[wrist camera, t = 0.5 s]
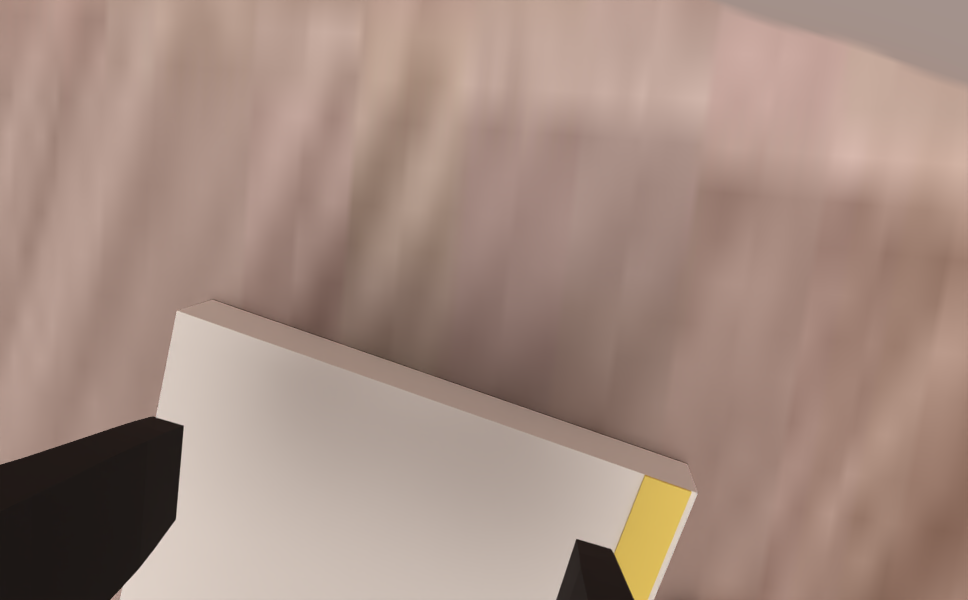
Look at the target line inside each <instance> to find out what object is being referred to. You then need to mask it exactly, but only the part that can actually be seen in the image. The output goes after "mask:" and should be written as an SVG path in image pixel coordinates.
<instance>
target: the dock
mask: <svg viewBox="0 0 968 600" xmlns="http://www.w3.org/2000/svg"><path fill="white" fill-rule="evenodd" d="M156 418H159V419H163V420H166V421H170V422H173V423H177V424H180V425H184V431H183V443H182V455H181V466H180V478H179V490H178V502H177V513H176V520H175V521H174V523H173V524H172V526H171V527H170V528H169V530H168V531H167V532H166V534H165V535H164V537H163V538H162V539H161V541H160V542H159V544H158V545H157V546H156V548H155V549H154V550H153V552H152V553H151V554H150V555H149V557H148V558H147V559H146V561H145V562H144V563H143V564H142V566H141V567H140V568H139V569H138V571H137V572H136V573H135V574H134V575H133V576H132V577H131V578H130V579H129V580H128V581H127V582H126V583H125V585H124V586H123V587H122V592H121V597H120V600H556V599H557V596H558V593H559V590H560V587H561V584H562V581H563V578H564V574H565V571H566V568H567V565H568V562H569V559H570V556H571V553H572V550H573V547H574V544H575V541H576V539H579V540H582V541H586V542H589V543H593V544H596V545H599V546H603V547H606V548H610V549H612V551H613V553H614V555H615V556H616V559H617V561H618V563H619V566H620V568H621V570H622V573H623V575H624V577H625V580H626V582H627V584H628V587H629V589H630V591H631V593H632V596H633V598H634V600H654V598H655V596H656V593H657V591H658V588H659V586H660V584H661V581H662V579H663V576H664V574H665V572H666V569H667V567H668V564H669V562H670V559H671V557H672V555H673V552H674V550H675V547H676V545H677V542H678V540H679V538H680V535H681V533H682V530H683V528H684V526H685V523H686V521H687V518H688V516H689V513H690V511H691V509H692V506H693V504H694V501H695V499H696V496H697V494H698V492H697V489H696V486H695V484H694V481H693V478H692V475H691V472H690V469H689V467H688V464H686V463H683V462H680V461H677V460H674V459H671V458H669V457H666V456H663V455H660V454H657V453H654V452H651V451H648V450H645V449H643V448H640V447H637V446H634V445H631V444H628V443H625V442H622V441H620V440H617V439H614V438H611V437H608V436H605V435H602V434H599V433H596V432H594V431H591V430H588V429H585V428H582V427H579V426H576V425H573V424H570V423H568V422H565V421H562V420H559V419H556V418H553V417H550V416H547V415H544V414H542V413H539V412H536V411H533V410H530V409H527V408H524V407H521V406H518V405H516V404H513V403H510V402H507V401H504V400H501V399H498V398H495V397H492V396H490V395H487V394H484V393H481V392H478V391H475V390H472V389H469V388H466V387H464V386H461V385H458V384H455V383H452V382H449V381H446V380H443V379H440V378H438V377H435V376H432V375H429V374H426V373H423V372H420V371H417V370H414V369H412V368H409V367H406V366H403V365H400V364H397V363H394V362H391V361H388V360H386V359H383V358H380V357H377V356H374V355H371V354H368V353H365V352H362V351H360V350H357V349H354V348H351V347H348V346H345V345H342V344H339V343H336V342H334V341H331V340H328V339H325V338H322V337H319V336H316V335H313V334H310V333H308V332H305V331H302V330H299V329H296V328H293V327H290V326H287V325H284V324H282V323H279V322H276V321H273V320H270V319H267V318H264V317H261V316H258V315H256V314H253V313H250V312H247V311H244V310H241V309H238V308H235V307H232V306H230V305H227V304H224V303H221V302H218V301H215V300H210V301H207V302H203V303H200V304H197V305H194V306H190V307H187V308H184V309H180V310H177V312H176V317H175V323H174V328H173V333H172V338H171V343H170V348H169V353H168V358H167V363H166V368H165V373H164V378H163V384H162V389H161V394H160V399H159V404H158V409H157V414H156Z"/></svg>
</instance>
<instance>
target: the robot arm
mask: <svg viewBox="0 0 968 600" xmlns="http://www.w3.org/2000/svg"><path fill="white" fill-rule="evenodd" d="M183 431H184V425H180V424H177V423H173V422H170V421H166V420H163V419H159V418H156V417H149V418H145V419H141V420H138V421H134V422H131V423H128V424H124V425H121V426H118V427H115V428H112V429H109V430H106V431H103V432H100V433H97V434H94V435H91V436H88V437H85V438H82V439H79V440H76V441H73V442H70V443H67V444H64V445H61V446H58V447H55V448H52V449H49V450H46V451H43V452H40V453H37V454H34V455H31V456H28V457H25V458H22V459H18V460H15V461H12V462H8V463H5V464H1V465H0V600H110V599H111V598H112V597H113V596H114V595H115V594H116V593H117V592H118V591H119V590H120V589H121V588H122V587H123V586H124V585H125V583H126V582H127V581H128V580H129V579H130V578H131V577H132V576H133V575H134V574H135V573H136V572H137V571H138V569H139V568H140V567H141V566H142V564H143V563H144V562H145V561H146V559H147V558H148V557H149V555H150V554H151V553H152V552H153V550H154V549H155V548H156V546H157V545H158V544H159V542H160V541H161V539H162V538H163V537H164V535H165V534H166V532H167V531H168V530H169V528H170V527H171V526H172V524H173V523H174V521H175V520H176V513H177V502H178V490H179V478H180V466H181V455H182V443H183ZM556 600H634V598H633V596H632V593H631V591H630V589H629V587H628V584H627V582H626V580H625V577H624V575H623V573H622V570H621V568H620V566H619V563H618V561H617V559H616V556H615V555H614V553H613V551H612V549H610V548H606V547H603V546H599V545H596V544H593V543H589V542H586V541H582V540H579V539H576V541H575V544H574V547H573V550H572V553H571V556H570V559H569V562H568V565H567V568H566V571H565V574H564V578H563V581H562V584H561V587H560V590H559V593H558V596H557V599H556Z"/></svg>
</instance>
